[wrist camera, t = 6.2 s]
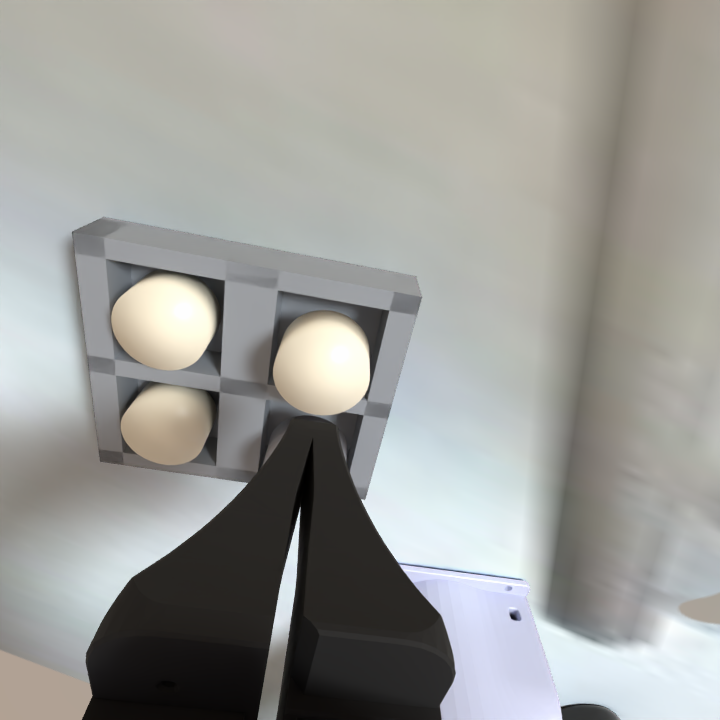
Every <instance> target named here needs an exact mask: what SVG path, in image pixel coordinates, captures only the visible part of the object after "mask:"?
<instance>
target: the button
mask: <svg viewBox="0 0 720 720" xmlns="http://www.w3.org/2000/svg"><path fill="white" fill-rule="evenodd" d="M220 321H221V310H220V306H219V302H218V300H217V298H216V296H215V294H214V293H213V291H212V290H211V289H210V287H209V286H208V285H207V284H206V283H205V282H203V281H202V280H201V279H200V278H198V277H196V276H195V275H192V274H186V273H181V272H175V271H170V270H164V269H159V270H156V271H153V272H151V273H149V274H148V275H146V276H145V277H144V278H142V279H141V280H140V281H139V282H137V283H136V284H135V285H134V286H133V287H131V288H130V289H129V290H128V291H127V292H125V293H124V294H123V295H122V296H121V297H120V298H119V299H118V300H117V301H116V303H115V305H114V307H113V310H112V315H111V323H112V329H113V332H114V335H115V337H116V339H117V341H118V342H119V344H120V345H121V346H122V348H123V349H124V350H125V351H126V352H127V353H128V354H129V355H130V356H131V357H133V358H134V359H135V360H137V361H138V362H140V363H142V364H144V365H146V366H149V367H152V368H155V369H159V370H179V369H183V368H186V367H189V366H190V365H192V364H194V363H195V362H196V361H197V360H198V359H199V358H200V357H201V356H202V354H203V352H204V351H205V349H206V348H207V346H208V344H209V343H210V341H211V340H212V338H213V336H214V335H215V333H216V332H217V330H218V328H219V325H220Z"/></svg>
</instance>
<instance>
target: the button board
mask: <svg viewBox="0 0 720 720" xmlns="http://www.w3.org/2000/svg"><path fill="white" fill-rule="evenodd" d="M72 235H73V243H74V252H75V260H76V268H77V276H78V284H79V292H80V300H81V309H82V317H83V325H84V333H85V341H86V349H87V358H88V366H89V374H90V382H91V390H92V398H93V406H94V415H95V423H96V431H97V439H98V447H99V455H100V462H107V463H114V464H121V465H127V466H134V467H141V468H148V469H155V470H162V471H169V472H176V473H183V474H190V475H197V476H204V477H211V478H218V479H225V480H232V481H239V482H246V483H249V482H250V481H251V480H252V478H253V477H254V476H255V475H256V473H257V472H258V471H259V470H260V469H261V467H262V466H263V462H264V459H265V455H266V451H267V448H268V444H269V440H270V437H271V434H272V432H273V430H274V429H275V428H276V427H277V426H278V425H279V424H280V423H281V422H283V421H284V420H287V419H289V418H292V417H295V416H302V415H310V416H317V417H320V418H323V419H326V420H328V421H330V422H332V423H333V424H334V425H336V426H337V427H338V428H339V429H340V430H341V432H342V433H343V435H344V436H345V439H346V443H347V457H346V463H347V466H348V469H349V471H350V474H351V477H352V480H353V482H354V485H355V487H356V490H357V492H358V494H359V497H360V499H364V500H365V498H366V495H367V491H368V488H369V484H370V481H371V477H372V473H373V470H374V466H375V463H376V459H377V456H378V452H379V449H380V445H381V441H382V438H383V434H384V431H385V427H386V424H387V420H388V417H389V413H390V409H391V406H392V402H393V399H394V395H395V392H396V388H397V384H398V381H399V377H400V374H401V370H402V367H403V363H404V360H405V356H406V352H407V349H408V345H409V342H410V338H411V335H412V331H413V328H414V324H415V320H416V317H417V313H418V310H419V306H420V303H421V299H422V295H421V292H420V288H419V285H418V281H417V278H416V276H411V275H406V274H400V273H395V272H390V271H385V270H379V269H374V268H369V267H363V266H358V265H353V264H348V263H342V262H337V261H332V260H327V259H321V258H316V257H311V256H306V255H300V254H295V253H290V252H285V251H279V250H274V249H269V248H264V247H258V246H253V245H248V244H243V243H237V242H232V241H227V240H221V239H216V238H211V237H206V236H200V235H195V234H190V233H185V232H179V231H174V230H169V229H164V228H158V227H153V226H148V225H143V224H137V223H132V222H127V221H122V220H116V219H111V218H106V217H103V218H101V219H98V220H96V221H94V222H92V223H90V224H88V225H86V226H83V227H81V228H79V229H77V230H75V231H73V232H72ZM159 269H164V270H170V271H175V272H181V273H186V274H192V275H195V276H196V277H198V278H200V279H201V280H202V281H203V282H205V283H206V284H207V285H208V286H209V287H210V289H211V290H212V291H213V293H214V294H215V296H216V298H217V300H218V302H219V306H220V310H221V321H220V325H219V328H218V330H217V332H216V333H215V335H214V336H213V338H212V340H211V341H210V343H209V344H208V346H207V348H206V349H205V351H204V352H203V354H202V356H201V357H200V358H199V359H198V360H197V361H196V362H195V363H194V364H192V365H190V366H189V367H186V368H183V369H179V370H159V369H155V368H152V367H149V366H146V365H144V364H142V363H140V362H138V361H137V360H135V359H134V358H133V357H131V356H130V355H129V354H128V353H127V352H126V351H125V350H124V349H123V348H122V346H121V345H120V344H119V342H118V341H117V339H116V337H115V335H114V332H113V329H112V323H111V315H112V310H113V307H114V305H115V303H116V301H117V300H118V299H119V298H120V297H121V296H122V295H123V294H124V293H125V292H127V291H128V290H129V289H130V288H131V287H133V286H134V285H135V284H136V283H137V282H139V281H140V280H141V279H142V278H144V277H145V276H146V275H148V274H149V273H151V272H153V271H156V270H159ZM318 310H329V311H335V312H339V313H342V314H344V315H346V316H348V317H350V318H351V319H353V320H354V321H355V322H356V323H357V324H358V325H359V326H360V327H361V328H362V329H363V331H364V333H365V335H366V337H367V339H368V343H369V359H370V381H369V386H368V389H367V391H366V393H365V395H364V396H363V398H362V399H361V400H360V401H359V402H358V403H357V404H356V405H355V406H353V407H352V408H350V409H348V410H346V411H344V412H341V413H338V414H334V415H314V414H309V413H306V412H303V411H301V410H298V409H296V408H295V407H293V406H292V405H290V404H289V403H288V402H287V401H286V400H285V399H284V398H283V397H282V396H281V395H280V393H279V392H278V390H277V388H276V386H275V383H274V379H273V367H274V362H275V359H276V356H277V353H278V350H279V347H280V344H281V341H282V338H283V335H284V333H285V331H286V329H287V328H288V326H289V325H290V324H291V323H292V322H293V321H294V320H295V319H297V318H298V317H300V316H301V315H303V314H306V313H308V312H312V311H318ZM150 381H153V382H160V383H166V384H172V385H178V386H185V387H191V388H197V389H203V390H206V391H207V392H208V393H209V394H210V395H211V397H212V398H213V400H214V402H215V405H216V411H217V414H216V419H215V422H214V424H213V426H212V429H211V431H210V433H209V435H208V437H207V440H206V442H205V444H204V446H203V448H202V450H201V452H200V453H199V455H198V456H197V457H196V458H194V459H193V460H191V461H189V462H187V463H184V464H179V465H163V464H158V463H155V462H152V461H149V460H147V459H145V458H143V457H141V456H140V455H138V454H137V453H136V452H134V451H133V450H132V449H131V448H130V447H129V446H128V444H127V443H126V441H125V440H124V438H123V436H122V433H121V420H122V417H123V415H124V414H125V412H126V411H127V409H128V408H129V407H130V406H131V404H132V403H133V402H134V400H135V399H136V398H137V396H138V395H139V394H140V392H141V391H142V390H143V388H144V387H145V386H146V385H147V384H148V383H149V382H150Z"/></svg>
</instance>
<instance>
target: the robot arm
mask: <svg viewBox="0 0 720 720" xmlns="http://www.w3.org/2000/svg"><path fill="white" fill-rule="evenodd" d="M300 505H301V510H300V528H299V546H298V564H297V579H296V590H295V597H294V604H293V611H292V618H291V624H290V631H289V638H288V645H287V652H286V658H285V665H284V672H283V679H282V685H281V692H280V699H279V705H278V712H277V719H276V720H562V713H561V707H560V702H559V697H558V693H557V690H556V686H555V683H554V680H553V677H552V674H551V671H550V668H549V665H548V662H547V659H546V656H545V653H544V649H543V646H542V643H541V640H540V637H539V634H538V631H537V628H536V625H535V622H534V619H533V616H532V612H531V609H530V606H529V603H528V600H527V597H526V596H527V595H528V593H529V591H530V586H529V584H528V582H526V581H522V580H514V579H507V578H499V577H491V576H484V575H476V574H469V573H461V572H453V571H446V570H438V569H431V568H423V567H415V566H408V565H400V564H398V562H397V561H396V559H395V558H394V556H393V555H392V554H391V552H390V551H389V549H388V548H387V546H386V545H385V543H384V542H383V540H382V538H381V537H380V535H379V533H378V532H377V530H376V528H375V526H374V525H373V523H372V521H371V519H370V517H369V515H368V513H367V511H366V509H365V507H364V505H363V503H362V501H361V499H360V497H359V494H358V492H357V490H356V487H355V485H354V482H353V480H352V477H351V474H350V471H349V469H348V466H347V463H346V460H345V457H344V453H343V449H342V446H341V441H340V436H339V428H338V427H337V426H336V425H334V424H328V423H321V422H315V421H309V420H302V419H296V418H294V419H292V420H291V421H290V423H289V425H288V428H287V430H286V432H285V433H284V435H283V437H282V439H281V440H280V442H279V443H278V445H277V447H276V448H275V450H274V451H273V452H272V454H271V455H270V457H269V458H268V459H267V461H266V462H265V464H264V465H263V466H262V467H261V469H260V470H259V471H258V472H257V473H256V475H255V476H254V477H253V478H252V480H251V481H250V482H249V483H248V484H247V485H246V487H245V488H244V489H243V490H242V491H241V492H240V493H239V494H238V495H237V496H236V497H235V498H234V499H233V500H232V501H231V502H230V503H229V504H228V505H227V506H226V507H225V508H224V509H223V510H222V511H221V512H220V513H219V514H218V515H216V516H215V517H214V518H213V519H212V520H211V521H210V522H209V523H208V524H206V525H205V526H204V527H203V528H202V529H200V530H199V531H198V532H197V533H195V534H194V535H193V536H191V537H190V538H189V539H187V540H186V541H185V542H184V543H182V544H181V545H180V546H178V547H177V548H176V549H174V550H173V551H172V552H170V553H169V554H167V555H166V556H164V557H163V558H161V559H160V560H158V561H157V562H155V563H154V564H152V565H151V566H149V567H148V568H146V569H145V570H143V571H141V572H140V573H138V574H137V575H135V576H134V577H132V578H131V580H130V581H129V582H128V583H127V585H126V586H125V587H124V589H123V590H122V591H121V593H120V594H119V595H118V597H117V598H116V600H115V601H114V603H113V604H112V606H111V607H110V609H109V611H108V612H107V614H106V615H105V617H104V619H103V620H102V622H101V624H100V626H99V628H98V630H97V632H96V634H95V636H94V638H93V640H92V642H91V644H90V646H89V648H88V650H87V652H86V666H87V671H88V676H89V681H90V685H91V690H92V695H93V696H92V698H91V701H90V703H89V705H88V707H87V710H86V712H85V714H84V717H83V719H82V720H257V717H258V711H259V705H260V699H261V694H262V688H263V682H264V676H265V670H266V664H267V658H268V653H269V647H270V641H271V635H272V629H273V623H274V617H275V612H276V606H277V600H278V594H279V588H280V584H281V579H282V575H283V571H284V567H285V563H286V559H287V555H288V551H289V548H290V544H291V540H292V536H293V532H294V528H295V525H296V521H297V517H298V513H299V509H300Z"/></svg>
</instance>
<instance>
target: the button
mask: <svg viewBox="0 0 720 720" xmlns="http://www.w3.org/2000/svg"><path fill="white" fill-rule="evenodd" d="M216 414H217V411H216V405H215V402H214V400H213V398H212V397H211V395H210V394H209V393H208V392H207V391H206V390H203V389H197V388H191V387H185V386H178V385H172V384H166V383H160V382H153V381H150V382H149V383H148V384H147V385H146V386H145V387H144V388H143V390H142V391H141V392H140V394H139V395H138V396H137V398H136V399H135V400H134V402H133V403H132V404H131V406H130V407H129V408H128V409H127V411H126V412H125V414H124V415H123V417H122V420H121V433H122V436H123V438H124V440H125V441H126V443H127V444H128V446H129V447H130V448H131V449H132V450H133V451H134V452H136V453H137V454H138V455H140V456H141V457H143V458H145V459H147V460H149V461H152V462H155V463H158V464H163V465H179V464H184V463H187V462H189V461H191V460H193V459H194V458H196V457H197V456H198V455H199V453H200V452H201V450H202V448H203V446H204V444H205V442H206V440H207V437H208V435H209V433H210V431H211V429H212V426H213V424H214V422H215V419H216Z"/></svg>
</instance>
